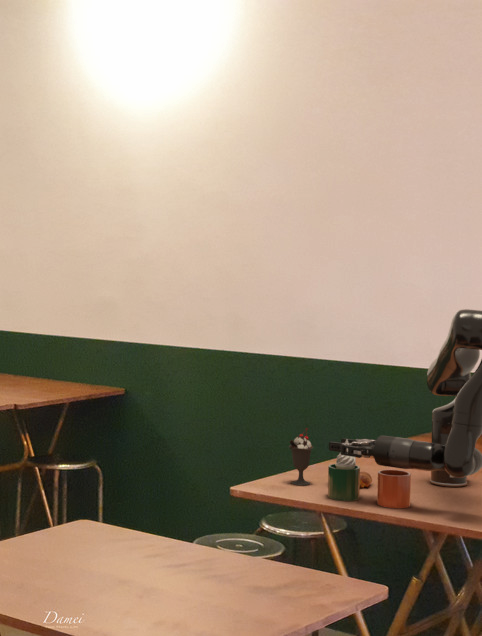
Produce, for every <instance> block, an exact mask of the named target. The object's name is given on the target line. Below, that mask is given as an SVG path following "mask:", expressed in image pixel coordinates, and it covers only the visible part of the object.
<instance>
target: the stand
mask: <svg viewBox="0 0 482 636" xmlns="http://www.w3.org/2000/svg"><path fill="white" fill-rule="evenodd" d="M335 464H336V463H330V464H328V468H327V469H328V470H327V473H328V475H327V497H328V498H329V499H331V500H335V501H340V502H341V501H342V502H353V501H357V500H360V492H361V491H360V472H361V466H359V465H357V464H356V465H355V468H354V469H337V468H336V465H335Z"/></svg>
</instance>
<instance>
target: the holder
mask: <svg viewBox="0 0 482 636" xmlns="http://www.w3.org/2000/svg"><path fill="white" fill-rule="evenodd" d="M411 480H412V473H411V472H409V471H406V470H402V469H401V470H400V469H381V470H378V471H377V491H376V493H377V494H376V495H377V496H376V497H377V500H376V503H377V505H378V506H380V507H382V508H383V507H384V508H389V509H406V508H410V507H411V483H412V481H411Z"/></svg>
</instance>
